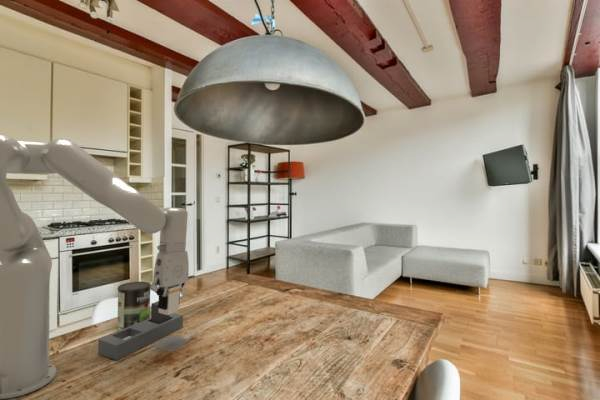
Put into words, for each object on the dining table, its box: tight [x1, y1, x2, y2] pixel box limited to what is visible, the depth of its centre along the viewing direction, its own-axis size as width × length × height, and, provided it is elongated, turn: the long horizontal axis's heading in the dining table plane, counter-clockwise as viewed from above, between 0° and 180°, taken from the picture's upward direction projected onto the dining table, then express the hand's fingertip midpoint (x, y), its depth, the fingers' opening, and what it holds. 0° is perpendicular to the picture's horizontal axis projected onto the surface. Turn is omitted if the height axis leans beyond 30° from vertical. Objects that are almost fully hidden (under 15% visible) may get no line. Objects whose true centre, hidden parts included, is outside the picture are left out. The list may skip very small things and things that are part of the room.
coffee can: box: [116, 281, 152, 331], centre depth 107 cm, size 10×10×14 cm
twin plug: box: [150, 300, 170, 324], centre depth 102 cm, size 4×4×9 cm
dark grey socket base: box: [97, 312, 184, 361], centre depth 96 cm, size 24×8×4 cm, turn 156°
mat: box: [151, 334, 191, 353], centre depth 94 cm, size 8×8×1 cm
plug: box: [158, 285, 181, 315], centre depth 93 cm, size 4×4×9 cm
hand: (168, 305), depth 93 cm, fingers closed on plug, 4 cm apart
